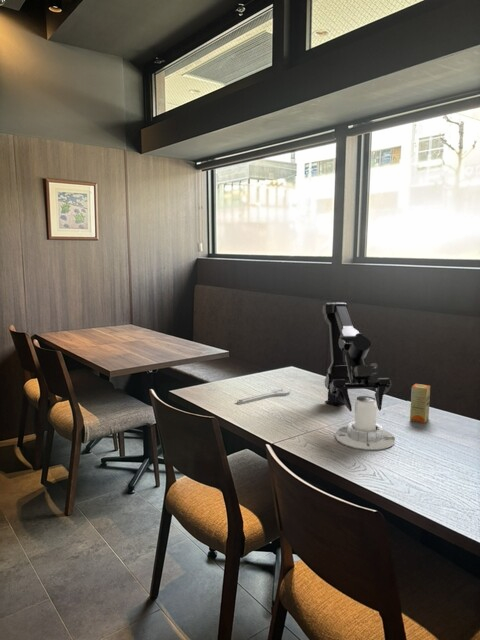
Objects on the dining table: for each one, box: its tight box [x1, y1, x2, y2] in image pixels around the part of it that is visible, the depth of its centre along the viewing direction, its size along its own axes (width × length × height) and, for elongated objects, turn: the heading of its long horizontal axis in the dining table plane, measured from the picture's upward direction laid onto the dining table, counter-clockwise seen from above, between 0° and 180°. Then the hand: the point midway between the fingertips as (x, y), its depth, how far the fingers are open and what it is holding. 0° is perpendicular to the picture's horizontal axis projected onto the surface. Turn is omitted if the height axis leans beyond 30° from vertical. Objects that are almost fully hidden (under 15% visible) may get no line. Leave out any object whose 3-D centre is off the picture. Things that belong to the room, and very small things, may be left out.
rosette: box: [334, 420, 396, 451], centre depth 148 cm, size 18×18×4 cm
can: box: [354, 395, 378, 432], centre depth 147 cm, size 6×6×12 cm
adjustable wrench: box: [236, 388, 291, 405], centre depth 190 cm, size 25×6×2 cm, turn 120°
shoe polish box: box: [409, 383, 431, 424], centre depth 163 cm, size 5×5×12 cm
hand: (365, 410), depth 147 cm, fingers open, 9 cm apart
